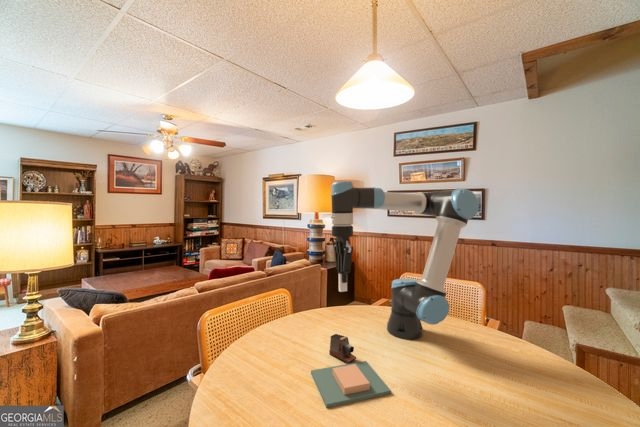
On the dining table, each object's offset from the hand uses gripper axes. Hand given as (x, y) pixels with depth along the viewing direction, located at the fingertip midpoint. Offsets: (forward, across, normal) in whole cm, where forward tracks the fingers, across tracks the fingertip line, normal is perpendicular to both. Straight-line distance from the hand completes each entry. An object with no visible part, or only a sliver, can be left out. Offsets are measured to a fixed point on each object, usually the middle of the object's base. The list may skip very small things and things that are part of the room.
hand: (342, 290), depth 97 cm
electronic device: (+25, -1, 0) cm, 25 cm away
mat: (+25, +13, -4) cm, 28 cm away
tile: (+23, +9, -4) cm, 25 cm away
